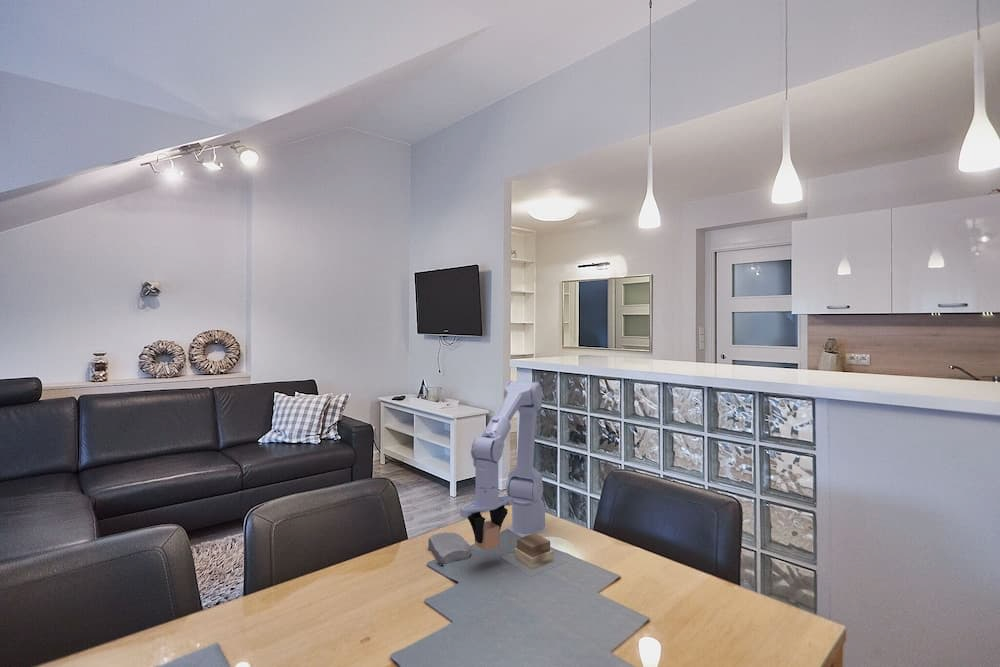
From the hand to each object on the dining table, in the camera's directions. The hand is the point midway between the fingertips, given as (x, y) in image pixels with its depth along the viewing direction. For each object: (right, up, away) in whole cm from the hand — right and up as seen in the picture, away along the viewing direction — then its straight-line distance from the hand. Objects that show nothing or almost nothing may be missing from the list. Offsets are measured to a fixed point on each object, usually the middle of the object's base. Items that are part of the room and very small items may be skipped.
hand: (487, 539), depth 124 cm
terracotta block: (0, -2, 0) cm, 2 cm away
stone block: (-10, -7, +7) cm, 14 cm away
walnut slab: (+12, -4, +2) cm, 13 cm away
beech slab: (+12, -6, +3) cm, 14 cm away
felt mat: (+12, -7, +3) cm, 14 cm away
